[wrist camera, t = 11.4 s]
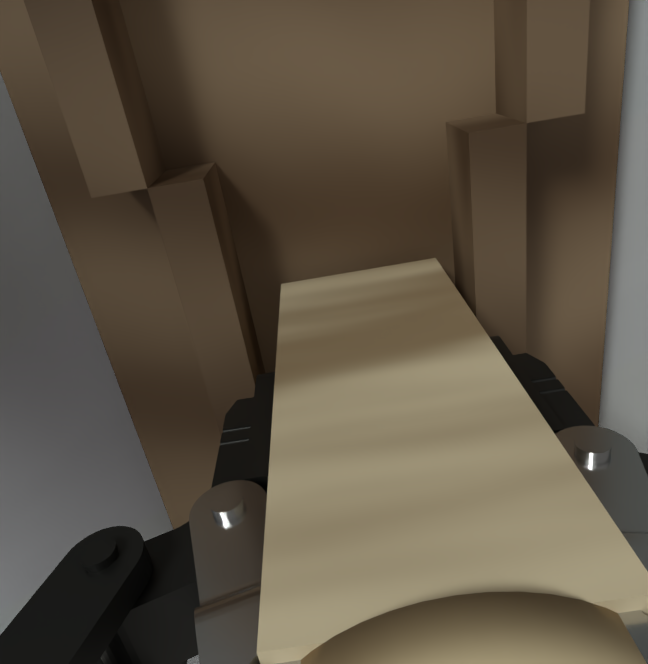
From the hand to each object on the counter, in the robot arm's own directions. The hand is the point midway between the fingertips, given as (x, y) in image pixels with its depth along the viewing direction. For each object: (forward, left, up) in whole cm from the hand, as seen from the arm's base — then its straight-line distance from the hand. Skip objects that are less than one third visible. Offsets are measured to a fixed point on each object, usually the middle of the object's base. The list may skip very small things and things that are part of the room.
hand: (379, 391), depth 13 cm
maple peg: (0, 0, -3) cm, 3 cm away
